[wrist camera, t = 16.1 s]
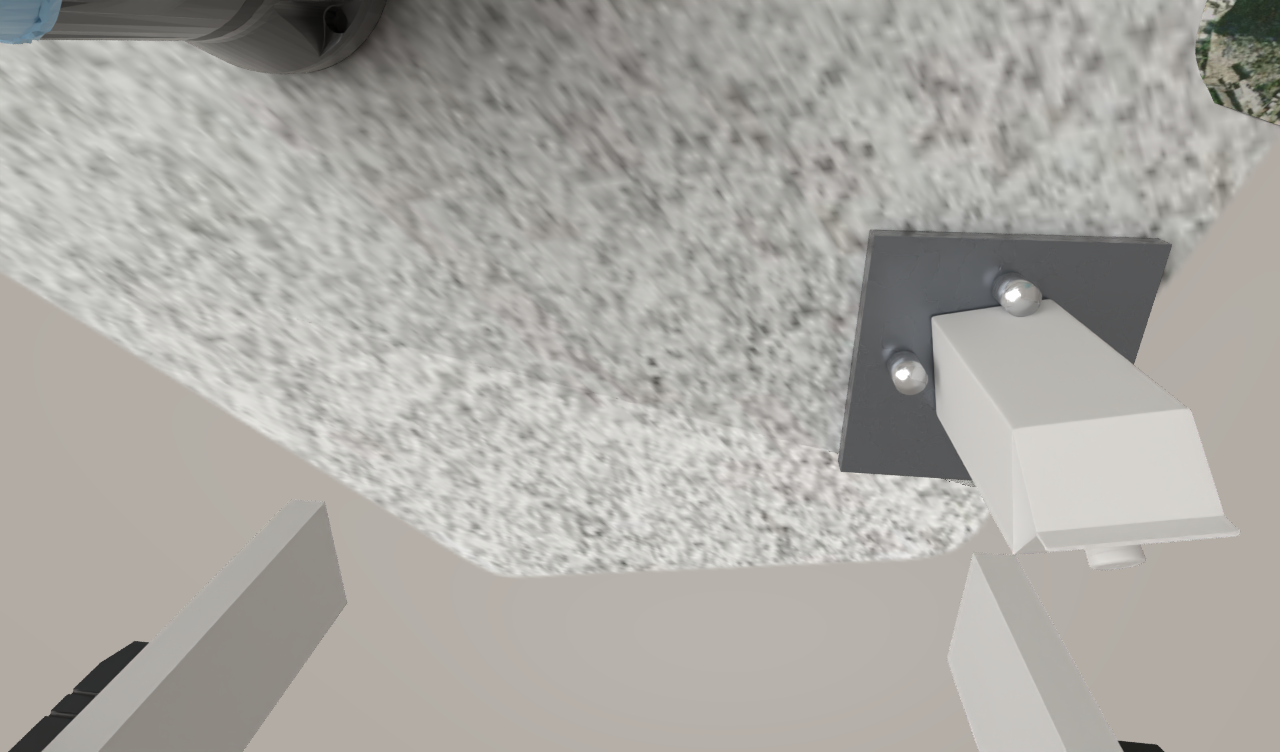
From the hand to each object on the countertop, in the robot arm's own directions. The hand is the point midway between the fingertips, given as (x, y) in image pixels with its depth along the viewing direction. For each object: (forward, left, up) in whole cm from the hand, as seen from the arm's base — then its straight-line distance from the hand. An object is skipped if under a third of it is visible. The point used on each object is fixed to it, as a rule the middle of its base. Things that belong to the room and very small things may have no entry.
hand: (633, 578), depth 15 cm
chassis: (+19, -9, -35) cm, 41 cm away
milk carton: (+19, -8, -33) cm, 39 cm away
